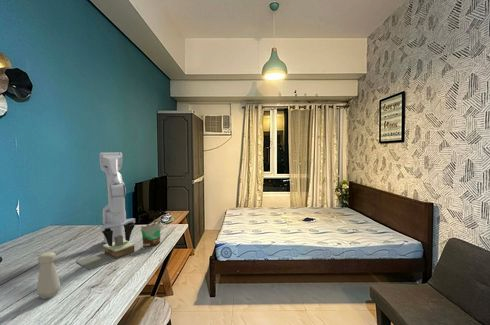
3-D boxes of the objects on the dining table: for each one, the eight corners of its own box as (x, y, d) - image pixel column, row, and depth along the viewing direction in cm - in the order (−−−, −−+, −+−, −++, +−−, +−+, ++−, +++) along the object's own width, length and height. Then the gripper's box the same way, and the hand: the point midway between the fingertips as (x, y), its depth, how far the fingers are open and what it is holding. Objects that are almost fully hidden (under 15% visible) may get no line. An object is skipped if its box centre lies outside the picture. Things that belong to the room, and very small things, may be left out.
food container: (153, 249, 115) (153, 227, 115) (141, 248, 116) (140, 226, 116) (167, 239, 127) (166, 219, 127) (156, 239, 129) (155, 219, 128)
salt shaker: (45, 290, 82) (43, 250, 81) (64, 289, 82) (62, 249, 82) (32, 301, 76) (29, 258, 75) (52, 300, 76) (50, 257, 76)
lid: (103, 246, 112) (102, 237, 111) (122, 240, 119) (122, 231, 118) (115, 251, 105) (115, 241, 105) (135, 245, 112) (134, 235, 112)
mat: (76, 262, 103) (76, 261, 103) (102, 253, 111) (102, 253, 111) (89, 269, 96) (89, 269, 96) (116, 260, 104) (116, 259, 104)
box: (104, 253, 112) (104, 246, 112) (122, 247, 118) (122, 240, 118) (116, 258, 106) (116, 251, 106) (134, 252, 112) (134, 245, 112)
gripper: (105, 216, 103) (106, 250, 104) (138, 209, 115) (139, 239, 115) (96, 214, 107) (98, 246, 108) (129, 208, 119) (131, 237, 120)
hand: (119, 243), depth 112 cm, fingers open, 7 cm apart
